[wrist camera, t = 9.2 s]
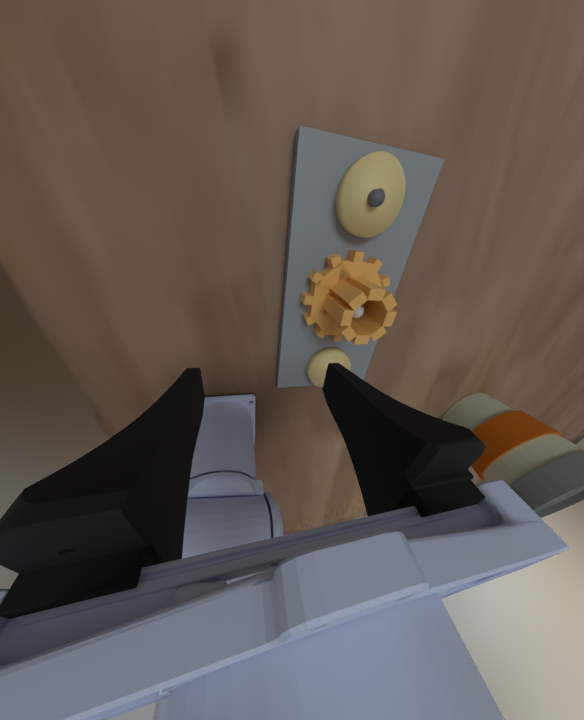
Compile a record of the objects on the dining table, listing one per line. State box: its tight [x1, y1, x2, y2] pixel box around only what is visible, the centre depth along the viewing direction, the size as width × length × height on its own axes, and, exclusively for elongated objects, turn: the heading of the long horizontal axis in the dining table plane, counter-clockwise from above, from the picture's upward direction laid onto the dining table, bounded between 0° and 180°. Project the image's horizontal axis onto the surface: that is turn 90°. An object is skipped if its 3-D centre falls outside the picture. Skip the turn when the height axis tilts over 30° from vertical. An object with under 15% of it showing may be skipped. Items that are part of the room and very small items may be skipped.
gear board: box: [276, 126, 444, 388], centre depth 19 cm, size 21×11×5 cm, turn 174°
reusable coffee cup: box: [442, 393, 584, 518], centre depth 33 cm, size 13×13×15 cm
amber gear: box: [301, 250, 397, 344], centre depth 18 cm, size 8×8×5 cm
